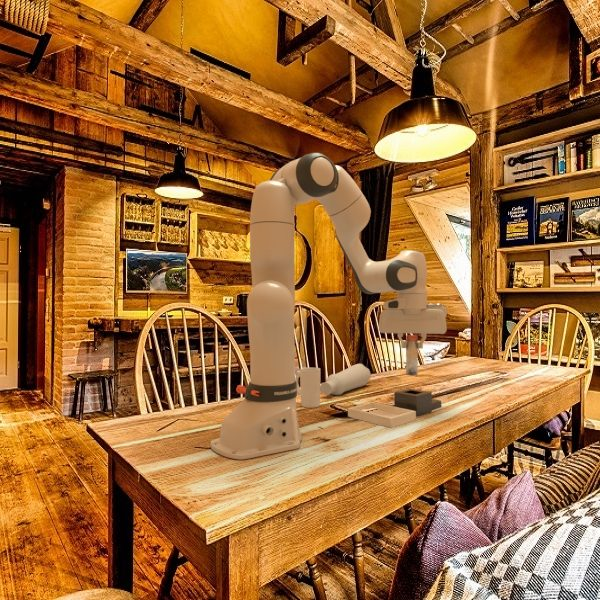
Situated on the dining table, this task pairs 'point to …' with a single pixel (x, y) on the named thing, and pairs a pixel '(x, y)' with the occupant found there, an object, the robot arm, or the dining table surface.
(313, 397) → the mug
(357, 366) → the bottle
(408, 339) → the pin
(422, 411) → the block
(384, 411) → the tray
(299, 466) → the dining table surface
